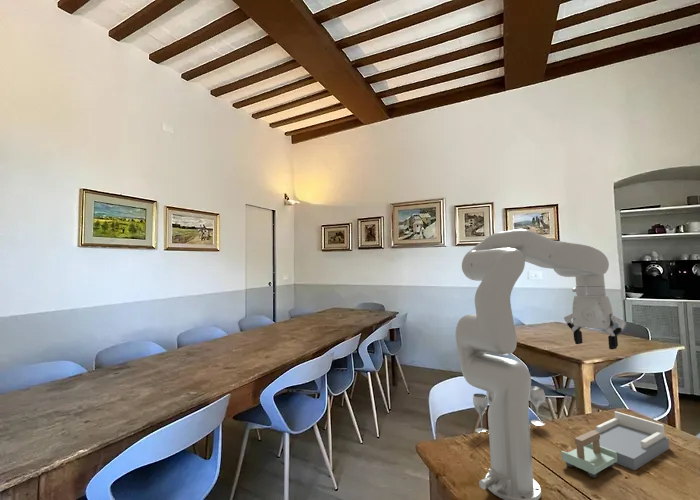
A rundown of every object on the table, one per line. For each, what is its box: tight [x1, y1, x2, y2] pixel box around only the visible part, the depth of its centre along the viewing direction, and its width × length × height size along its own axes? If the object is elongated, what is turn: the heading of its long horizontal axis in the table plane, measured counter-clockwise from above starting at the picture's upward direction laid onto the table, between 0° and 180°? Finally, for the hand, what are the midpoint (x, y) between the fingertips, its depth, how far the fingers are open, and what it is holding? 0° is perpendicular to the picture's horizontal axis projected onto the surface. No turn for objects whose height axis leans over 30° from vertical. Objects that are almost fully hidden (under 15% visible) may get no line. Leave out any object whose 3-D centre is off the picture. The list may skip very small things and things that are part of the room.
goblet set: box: [472, 385, 546, 434], centre depth 118 cm, size 28×6×13 cm, turn 104°
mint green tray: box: [560, 429, 617, 479], centre depth 93 cm, size 12×8×8 cm, turn 119°
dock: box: [592, 411, 670, 471], centre depth 102 cm, size 22×14×6 cm, turn 119°
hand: (595, 346), depth 107 cm, fingers open, 9 cm apart
